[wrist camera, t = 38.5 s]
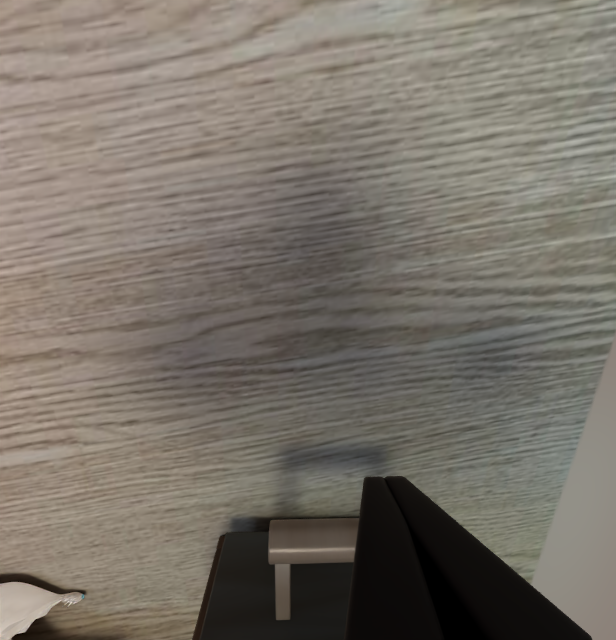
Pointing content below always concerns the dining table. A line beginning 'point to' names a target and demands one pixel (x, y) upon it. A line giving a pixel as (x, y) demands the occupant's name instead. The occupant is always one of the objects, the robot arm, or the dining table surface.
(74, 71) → the dining table surface
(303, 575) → the drawer
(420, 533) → the robot arm
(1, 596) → the winged dragon toy
